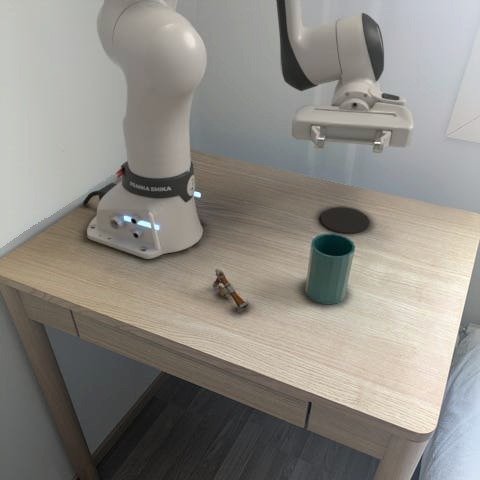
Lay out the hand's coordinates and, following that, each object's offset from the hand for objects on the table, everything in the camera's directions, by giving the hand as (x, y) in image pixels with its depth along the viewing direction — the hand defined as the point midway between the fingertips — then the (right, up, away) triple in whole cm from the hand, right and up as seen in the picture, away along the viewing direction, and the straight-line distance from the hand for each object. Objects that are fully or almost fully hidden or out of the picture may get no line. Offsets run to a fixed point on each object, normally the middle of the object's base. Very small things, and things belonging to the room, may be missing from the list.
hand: (348, 146), depth 80 cm
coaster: (+4, -8, +22) cm, 24 cm away
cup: (-3, -23, +5) cm, 24 cm away
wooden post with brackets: (-19, -25, +2) cm, 32 cm away
